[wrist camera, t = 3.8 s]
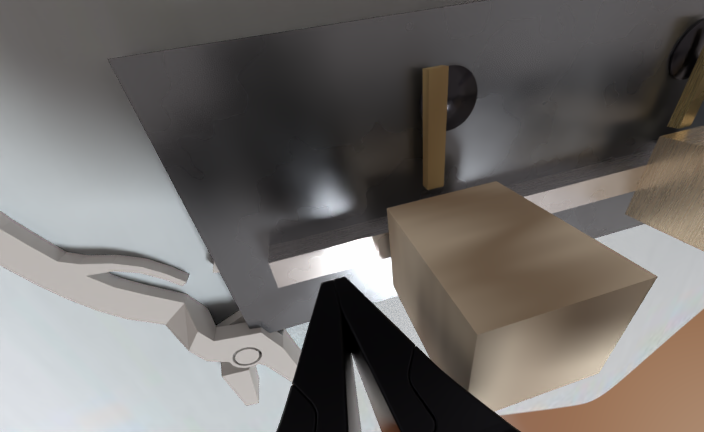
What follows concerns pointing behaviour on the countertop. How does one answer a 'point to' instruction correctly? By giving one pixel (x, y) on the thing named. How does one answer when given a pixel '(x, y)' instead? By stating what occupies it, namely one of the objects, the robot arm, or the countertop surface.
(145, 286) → the pliers
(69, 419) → the countertop surface
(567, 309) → the block
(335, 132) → the plate
